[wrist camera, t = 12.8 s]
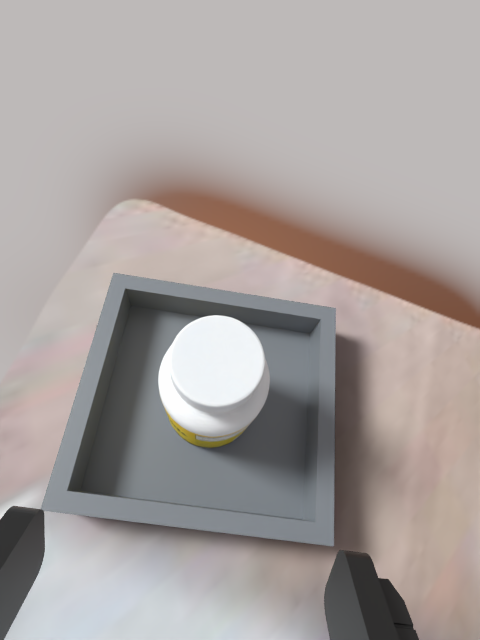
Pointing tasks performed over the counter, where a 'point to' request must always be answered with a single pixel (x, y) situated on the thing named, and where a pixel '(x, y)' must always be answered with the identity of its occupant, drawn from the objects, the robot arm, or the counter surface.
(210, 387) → the supplement bottle
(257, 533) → the tray
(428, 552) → the counter surface
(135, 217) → the counter surface
